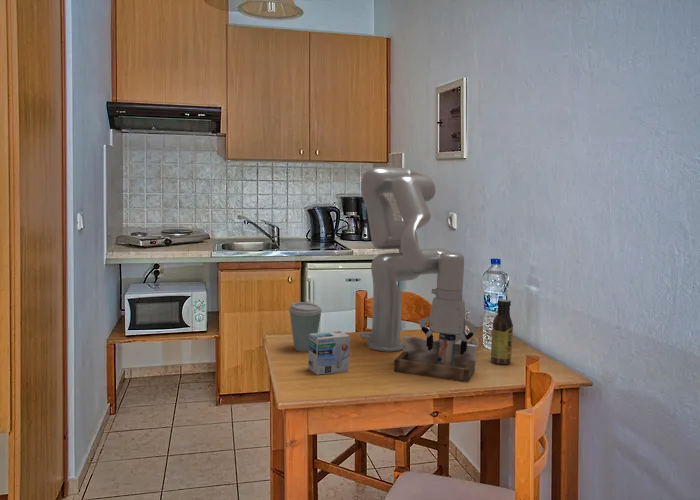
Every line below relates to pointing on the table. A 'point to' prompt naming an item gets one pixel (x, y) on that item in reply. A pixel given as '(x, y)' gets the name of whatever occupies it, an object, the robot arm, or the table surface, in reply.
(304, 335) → the disposable coffee cup
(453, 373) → the wooden tray
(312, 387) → the table surface
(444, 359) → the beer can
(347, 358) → the light bulb box
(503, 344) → the sauce bottle
